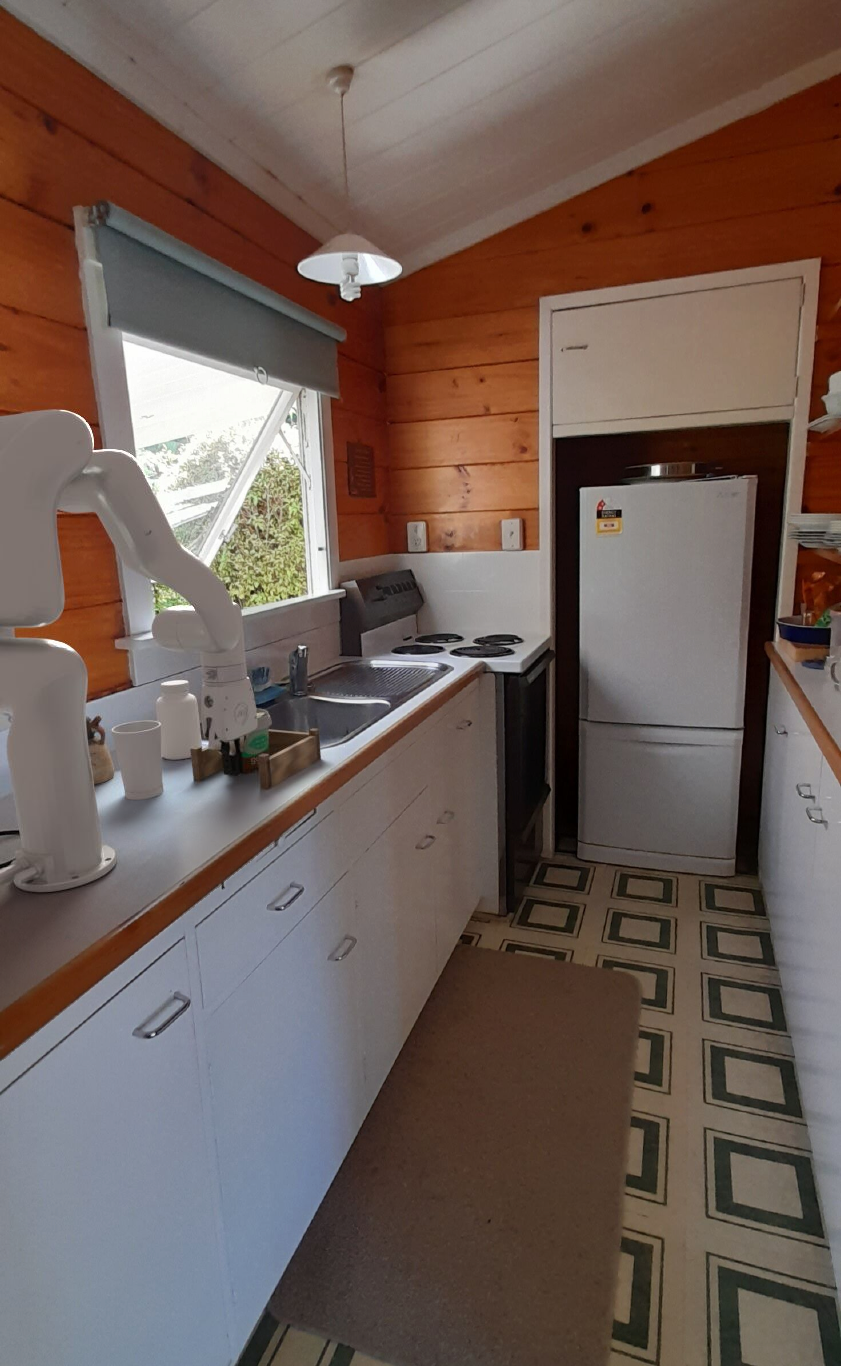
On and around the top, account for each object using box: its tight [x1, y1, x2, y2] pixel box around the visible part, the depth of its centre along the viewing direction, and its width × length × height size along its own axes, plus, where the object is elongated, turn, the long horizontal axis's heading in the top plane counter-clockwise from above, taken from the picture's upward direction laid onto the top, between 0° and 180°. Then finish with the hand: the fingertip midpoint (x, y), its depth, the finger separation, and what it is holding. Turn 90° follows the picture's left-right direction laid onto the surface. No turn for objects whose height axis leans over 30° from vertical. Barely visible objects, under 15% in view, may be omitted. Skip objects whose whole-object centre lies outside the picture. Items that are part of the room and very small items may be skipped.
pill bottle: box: [155, 679, 203, 761], centre depth 148 cm, size 8×8×15 cm
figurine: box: [86, 715, 115, 785], centre depth 136 cm, size 7×7×12 cm
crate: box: [190, 728, 322, 791], centre depth 138 cm, size 18×16×6 cm
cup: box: [111, 720, 164, 801], centre depth 127 cm, size 8×8×12 cm
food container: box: [224, 707, 273, 775], centre depth 139 cm, size 12×6×10 cm, turn 160°
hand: (233, 773), depth 132 cm, fingers closed
